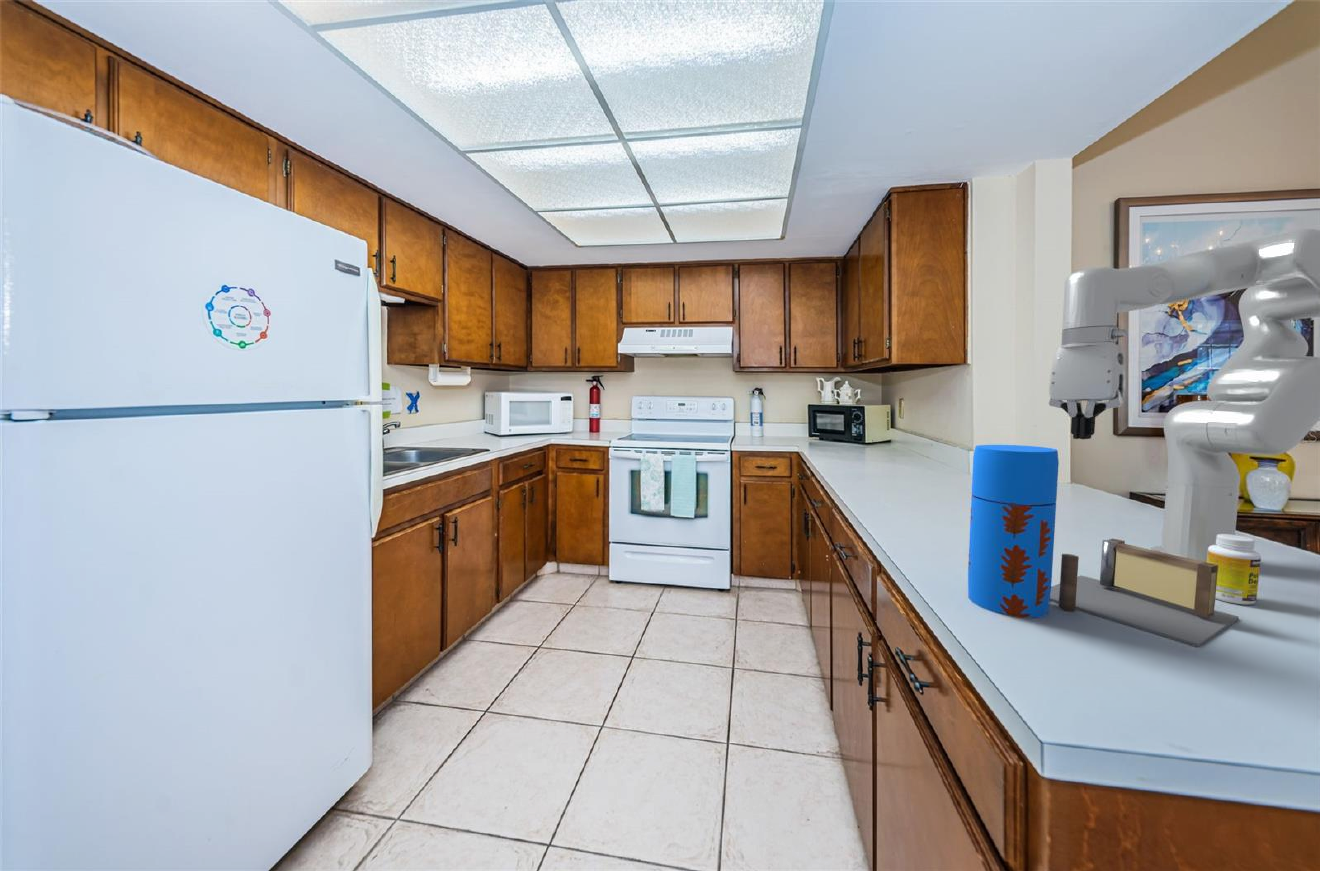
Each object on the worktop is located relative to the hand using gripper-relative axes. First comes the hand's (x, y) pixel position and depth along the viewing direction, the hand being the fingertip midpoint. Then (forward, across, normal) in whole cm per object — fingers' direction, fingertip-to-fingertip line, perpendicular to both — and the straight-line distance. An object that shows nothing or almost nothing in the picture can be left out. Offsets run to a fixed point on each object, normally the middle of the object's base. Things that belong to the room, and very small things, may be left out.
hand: (1082, 438), depth 92 cm
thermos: (+25, -2, +28) cm, 38 cm away
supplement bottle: (+25, -19, -5) cm, 32 cm away
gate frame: (+25, -12, +13) cm, 31 cm away
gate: (+24, -13, +9) cm, 29 cm away
